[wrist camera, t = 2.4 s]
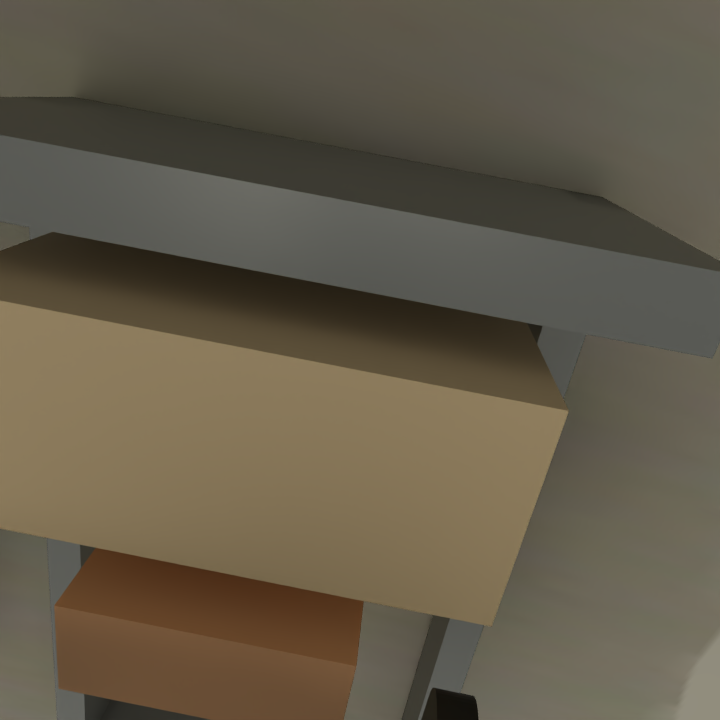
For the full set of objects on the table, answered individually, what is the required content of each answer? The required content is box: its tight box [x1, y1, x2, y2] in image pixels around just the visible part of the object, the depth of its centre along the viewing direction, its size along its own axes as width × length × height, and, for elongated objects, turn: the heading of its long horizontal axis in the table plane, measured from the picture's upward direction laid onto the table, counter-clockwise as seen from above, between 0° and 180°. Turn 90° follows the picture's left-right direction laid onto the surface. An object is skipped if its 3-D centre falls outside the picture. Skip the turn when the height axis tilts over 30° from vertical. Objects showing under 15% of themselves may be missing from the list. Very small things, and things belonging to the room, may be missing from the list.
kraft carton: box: [0, 232, 569, 627], centre depth 13 cm, size 4×9×8 cm, turn 80°
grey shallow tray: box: [0, 97, 720, 720], centre depth 16 cm, size 22×13×7 cm, turn 170°
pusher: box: [54, 548, 364, 720], centre depth 14 cm, size 2×10×8 cm, turn 80°
